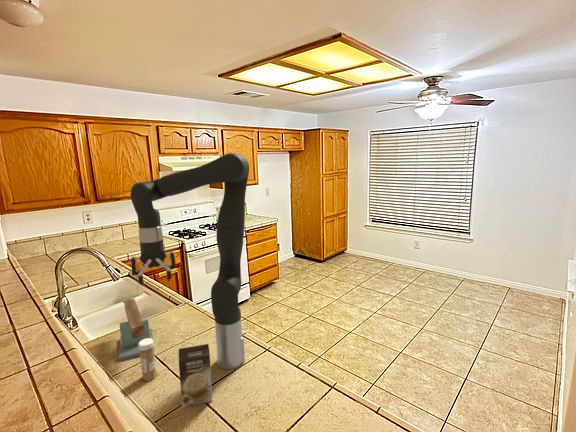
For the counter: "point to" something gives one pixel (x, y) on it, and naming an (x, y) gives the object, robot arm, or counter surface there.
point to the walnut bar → (134, 318)
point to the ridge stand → (132, 340)
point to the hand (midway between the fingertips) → (155, 282)
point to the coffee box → (195, 375)
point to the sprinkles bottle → (147, 359)
